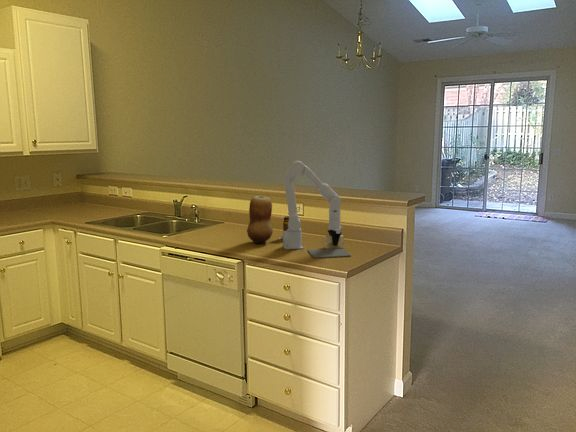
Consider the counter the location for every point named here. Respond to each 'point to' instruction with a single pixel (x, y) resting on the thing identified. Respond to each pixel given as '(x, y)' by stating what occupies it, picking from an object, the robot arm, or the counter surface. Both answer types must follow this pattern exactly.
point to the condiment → (285, 225)
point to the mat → (329, 253)
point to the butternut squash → (260, 219)
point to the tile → (330, 244)
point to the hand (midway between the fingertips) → (334, 244)
